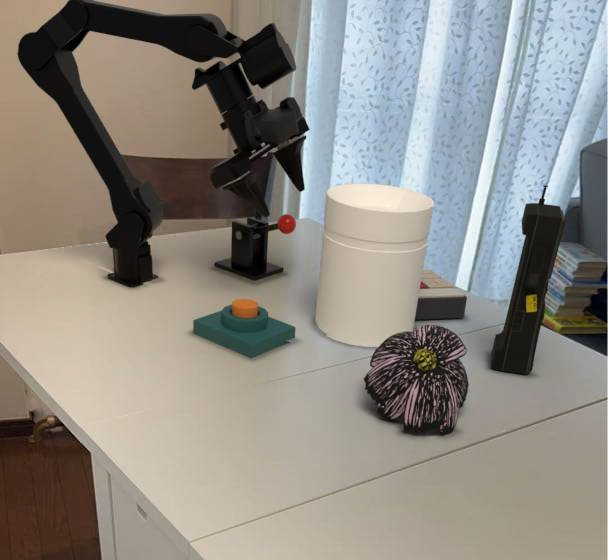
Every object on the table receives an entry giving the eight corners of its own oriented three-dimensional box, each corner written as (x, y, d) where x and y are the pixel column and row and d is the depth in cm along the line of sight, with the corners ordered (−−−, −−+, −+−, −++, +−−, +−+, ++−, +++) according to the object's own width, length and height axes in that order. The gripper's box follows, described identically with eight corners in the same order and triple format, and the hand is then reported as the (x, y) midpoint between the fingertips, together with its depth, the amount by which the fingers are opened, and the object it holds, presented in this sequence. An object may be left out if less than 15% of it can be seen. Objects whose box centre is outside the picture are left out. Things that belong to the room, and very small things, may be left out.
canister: (301, 334, 125) (312, 200, 113) (331, 302, 138) (344, 178, 126) (400, 354, 122) (421, 219, 110) (422, 320, 134) (443, 194, 122)
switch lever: (301, 230, 138) (297, 211, 136) (289, 234, 136) (285, 214, 134) (252, 241, 146) (248, 222, 144) (240, 244, 143) (236, 225, 142)
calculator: (432, 267, 145) (469, 292, 133) (429, 291, 148) (464, 318, 136) (376, 268, 142) (408, 294, 130) (373, 292, 145) (404, 320, 133)
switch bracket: (283, 274, 147) (286, 224, 142) (254, 283, 142) (256, 232, 137) (243, 260, 152) (244, 212, 147) (214, 268, 147) (214, 219, 142)
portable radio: (531, 379, 118) (578, 202, 103) (490, 373, 119) (531, 196, 104) (530, 358, 125) (574, 188, 110) (491, 352, 125) (530, 182, 110)
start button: (226, 314, 120) (226, 302, 119) (244, 307, 123) (244, 296, 122) (245, 321, 118) (246, 310, 117) (263, 315, 121) (264, 304, 120)
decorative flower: (354, 354, 97) (409, 288, 104) (334, 415, 107) (385, 350, 114) (459, 414, 95) (506, 342, 102) (429, 470, 105) (474, 401, 112)
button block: (193, 333, 122) (193, 308, 120) (237, 317, 129) (238, 293, 126) (251, 358, 117) (252, 332, 114) (294, 340, 123) (296, 315, 121)
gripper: (229, 110, 110) (282, 217, 118) (309, 62, 119) (353, 164, 127) (185, 136, 119) (236, 234, 126) (262, 89, 128) (306, 183, 135)
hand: (285, 203), depth 128 cm, fingers open, 9 cm apart
